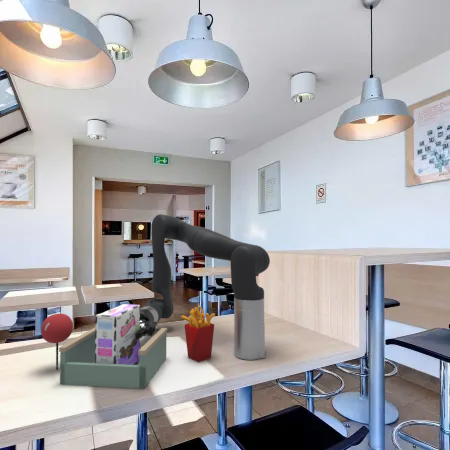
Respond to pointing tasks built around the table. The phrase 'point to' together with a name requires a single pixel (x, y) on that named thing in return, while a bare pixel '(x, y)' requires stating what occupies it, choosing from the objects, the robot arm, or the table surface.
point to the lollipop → (56, 330)
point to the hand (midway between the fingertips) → (122, 335)
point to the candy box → (117, 335)
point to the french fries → (199, 335)
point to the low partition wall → (109, 373)
